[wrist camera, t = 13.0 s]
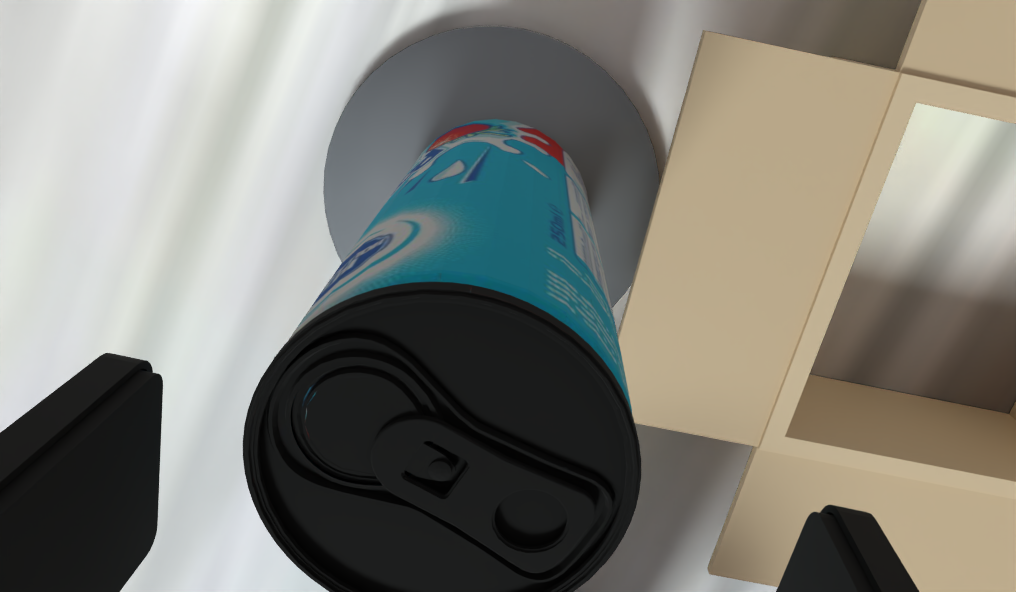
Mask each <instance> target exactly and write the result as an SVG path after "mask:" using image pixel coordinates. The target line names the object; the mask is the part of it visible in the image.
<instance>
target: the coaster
mask: <svg viewBox="0 0 1016 592" xmlns="http://www.w3.org/2000/svg"><path fill="white" fill-rule="evenodd" d="M490 119H499V120H507V121H515V122H518V123H521V124H524V125H527V126H530V127H532V128H535V129H537V130H539V131H540V132H542V133H543V134H545V135H547V136H548V137H550V138H551V139H553V140H554V141H555V142H556V143H557V144H558V145H559V146H560V147H561V148H562V149H563V150H564V151H565V152H566V153H567V154H568V155H569V156H570V157H571V159H572V161H573V162H574V164H575V166H576V167H577V169H578V170H579V172H580V174H581V177H582V180H583V182H584V185H585V188H586V191H587V197H588V203H589V207H590V212H591V216H592V221H593V225H594V230H595V234H596V239H597V243H598V248H599V252H600V257H601V261H602V266H603V270H604V275H605V279H606V284H607V288H608V293H609V298H610V303H611V307H613V306H614V305H615V304H616V303H617V301H618V300H619V299H620V298H621V297H622V296H623V295H624V294H625V293H626V291H627V290H628V288H629V287H630V285H631V284H632V282H633V278H634V275H635V271H636V268H637V264H638V260H639V257H640V253H641V250H642V246H643V243H644V239H645V235H646V232H647V228H648V225H649V221H650V218H651V214H652V211H653V207H654V203H655V200H656V196H657V193H658V189H659V173H658V168H657V163H656V158H655V153H654V149H653V146H652V143H651V141H650V138H649V135H648V132H647V129H646V127H645V125H644V123H643V121H642V119H641V118H640V116H639V114H638V112H637V110H636V108H635V107H634V105H633V104H632V103H631V101H630V100H629V98H628V97H627V95H626V94H625V92H624V91H623V90H622V89H621V87H620V86H619V85H618V84H617V83H616V82H615V81H614V80H613V79H612V78H611V77H610V75H609V74H608V73H607V72H606V71H605V70H603V69H602V68H601V67H600V66H599V65H597V64H596V63H595V62H594V61H592V60H591V59H590V58H589V57H587V56H586V55H584V54H582V53H581V52H579V51H578V50H576V49H574V48H573V47H571V46H570V45H568V44H565V43H563V42H561V41H559V40H556V39H554V38H552V37H550V36H547V35H544V34H540V33H537V32H533V31H530V30H526V29H520V28H513V27H506V26H474V27H466V28H459V29H454V30H450V31H447V32H443V33H440V34H436V35H433V36H431V37H428V38H426V39H424V40H422V41H419V42H417V43H415V44H413V45H410V46H409V47H407V48H405V49H404V50H402V51H401V52H399V53H397V54H396V55H394V56H393V57H391V58H389V59H388V60H387V61H386V62H385V63H384V64H382V65H381V66H380V67H379V68H378V69H376V70H375V71H374V72H373V73H372V74H371V75H370V76H369V77H368V78H367V79H366V80H365V82H364V83H363V84H362V85H361V86H360V87H359V88H358V89H357V91H356V92H355V94H354V95H353V97H352V98H351V100H350V101H349V103H348V104H347V106H346V107H345V109H344V111H343V113H342V115H341V117H340V119H339V121H338V123H337V125H336V127H335V130H334V133H333V136H332V139H331V142H330V145H329V148H328V153H327V159H326V164H325V170H324V191H323V192H324V203H325V213H326V218H327V222H328V227H329V231H330V235H331V237H332V240H333V243H334V246H335V248H336V251H337V254H338V256H339V258H340V259H341V261H342V263H343V261H344V260H345V258H346V257H347V256H348V254H349V253H350V251H351V250H352V249H353V247H354V246H355V244H356V243H357V242H358V240H359V239H360V237H361V236H362V235H363V233H364V232H365V230H366V229H367V228H368V226H369V225H370V224H371V222H372V221H373V219H374V218H375V217H376V215H377V214H378V213H379V211H380V210H381V209H382V207H383V206H384V205H385V203H386V202H387V200H388V199H389V198H390V196H391V195H392V194H393V192H394V191H395V190H396V188H397V187H398V186H399V184H400V183H401V181H402V180H403V179H404V177H405V176H406V175H407V173H408V172H409V171H410V169H411V168H412V166H413V165H414V164H415V162H416V161H417V159H418V158H419V156H420V155H421V153H422V152H423V151H424V150H425V149H426V148H427V147H428V146H429V145H430V144H431V143H432V142H433V141H434V140H435V139H437V138H438V137H439V136H441V135H443V134H444V133H446V132H448V131H450V130H451V129H453V128H455V127H457V126H461V125H464V124H467V123H470V122H473V121H480V120H490Z"/></svg>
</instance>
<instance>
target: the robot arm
mask: <svg viewBox="0 0 1016 592" xmlns="http://www.w3.org/2000/svg"><path fill="white" fill-rule="evenodd" d="M162 395H163V380H162V377H161V375H160V374H157V373H153V370H152V367H151V364H150V363H149V362H148V361H145V360H140V359H135V358H131V357H126V356H121V355H116V354H111V353H105V354H103V355H101V356H100V357H98V358H97V359H96V360H94V361H93V362H92V363H91V364H89V365H88V366H87V367H85V368H84V369H83V370H81V371H80V372H79V373H78V374H76V375H75V376H74V377H72V378H71V379H70V380H68V381H67V382H66V383H65V384H63V385H62V386H61V387H59V388H58V389H57V390H55V391H54V392H53V393H51V394H50V395H49V396H48V397H46V398H45V399H44V400H42V401H41V402H40V403H38V404H37V405H36V406H35V407H33V408H32V409H31V410H29V411H28V412H27V413H25V414H24V415H23V416H22V417H20V418H19V419H18V420H16V421H15V422H14V423H12V424H11V425H10V426H9V427H7V428H6V429H5V430H3V431H2V432H1V433H0V592H120V590H121V589H122V588H123V586H124V585H125V584H126V582H127V581H128V580H129V578H130V577H131V576H132V574H133V573H134V572H135V570H136V569H137V568H138V566H139V565H140V564H141V562H142V561H143V560H144V558H145V557H146V556H147V554H148V552H149V551H150V549H151V547H152V545H153V542H154V539H155V536H156V532H157V520H158V495H159V470H160V445H161V420H162ZM776 592H919V590H918V588H917V587H916V585H915V583H914V582H913V580H912V578H911V577H910V575H909V573H908V572H907V570H906V569H905V567H904V565H903V564H902V562H901V560H900V559H899V557H898V555H897V554H896V552H895V550H894V549H893V547H892V545H891V544H890V542H889V540H888V539H887V537H886V535H885V534H884V532H883V530H882V529H881V527H880V525H879V524H878V522H877V520H876V519H875V518H874V516H873V515H872V514H870V513H868V512H864V511H859V510H854V509H850V508H845V507H840V506H835V505H831V504H830V505H827V506H825V507H824V508H823V509H822V510H821V512H820V513H819V512H812V513H811V514H810V515H809V516H808V518H807V519H806V522H805V524H804V526H803V529H802V531H801V533H800V536H799V538H798V541H797V543H796V545H795V548H794V550H793V553H792V555H791V557H790V560H789V562H788V565H787V567H786V569H785V572H784V574H783V577H782V579H781V581H780V584H779V586H778V589H777V591H776Z"/></svg>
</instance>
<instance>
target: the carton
mask: <svg viewBox="0 0 1016 592" xmlns="http://www.w3.org/2000/svg"><path fill="white" fill-rule="evenodd" d="M916 103H921V104H925V105H930V106H935V107H939V108H944V109H949V110H953V111H958V112H963V113H967V114H972V115H977V116H981V117H986V118H991V119H995V120H1000V121H1005V122H1009V123H1014V124H1016V0H921V3H920V6H919V8H918V11H917V13H916V16H915V19H914V21H913V24H912V27H911V29H910V32H909V35H908V37H907V40H906V43H905V45H904V48H903V51H902V53H901V56H900V59H899V61H898V64H897V67H896V69H895V70H894V69H889V68H884V67H880V66H875V65H871V64H866V63H861V62H857V61H852V60H847V59H843V58H838V57H833V56H831V58H830V57H825V56H821V55H816V54H812V53H807V52H802V51H798V50H793V49H788V48H784V47H779V46H774V45H770V44H765V43H761V42H756V41H751V40H747V39H742V38H737V37H733V36H728V35H723V34H719V33H714V32H710V31H705V30H703V32H702V36H701V39H700V43H699V46H698V50H697V54H696V57H695V61H694V64H693V68H692V71H691V75H690V79H689V82H688V86H687V89H686V93H685V96H684V100H683V104H682V107H681V111H680V114H679V118H678V121H677V125H676V128H675V132H674V136H673V139H672V143H671V146H670V150H669V153H668V157H667V161H666V164H665V168H664V171H663V175H662V178H661V182H660V186H659V189H658V193H657V196H656V200H655V203H654V207H653V211H652V214H651V218H650V221H649V225H648V228H647V232H646V235H645V239H644V243H643V246H642V250H641V253H640V257H639V260H638V264H637V268H636V271H635V275H634V278H633V282H632V285H631V289H630V293H629V296H628V300H627V303H626V307H625V310H624V314H623V317H622V321H621V325H620V328H619V332H618V335H617V336H618V341H619V346H620V351H621V356H622V361H623V366H624V371H625V376H626V382H627V387H628V392H629V397H630V402H631V408H632V415H633V418H634V423H637V424H642V425H647V426H652V427H657V428H663V429H668V430H673V431H678V432H683V433H688V434H693V435H699V436H704V437H709V438H714V439H719V440H724V441H730V442H735V443H740V444H745V445H750V446H753V448H752V451H751V454H750V456H749V459H748V462H747V464H746V467H745V470H744V472H743V475H742V478H741V480H740V483H739V486H738V488H737V491H736V493H735V496H734V499H733V501H732V504H731V507H730V509H729V512H728V515H727V517H726V520H725V523H724V525H723V528H722V531H721V533H720V536H719V539H718V541H717V544H716V547H715V549H714V552H713V554H712V557H711V560H710V562H709V565H708V571H709V574H711V575H717V576H722V577H727V578H733V579H738V580H743V581H749V582H754V583H759V584H765V585H770V586H775V587H778V586H779V584H780V581H781V579H782V577H783V574H784V572H785V569H786V567H787V565H788V562H789V560H790V557H791V555H792V553H793V550H794V548H795V545H796V543H797V541H798V538H799V536H800V533H801V531H802V529H803V526H804V524H805V522H806V519H807V518H808V516H809V515H810V514H811V513H812V512H819V513H820V512H821V510H822V509H823V508H824V507H825V506H827V505H830V504H831V505H835V506H840V507H845V508H850V509H854V510H859V511H864V512H868V513H870V514H872V515H873V516H874V518H875V519H876V520H877V522H878V524H879V525H880V527H881V529H882V530H883V532H884V534H885V535H886V537H887V539H888V540H889V542H890V544H891V545H892V547H893V549H894V550H895V552H896V554H897V555H898V557H899V559H900V560H901V562H902V564H903V565H904V567H905V569H906V570H907V572H908V573H909V575H910V577H911V578H912V580H913V582H914V583H915V585H916V587H917V588H918V590H919V592H1016V402H1015V404H1014V406H1013V407H1012V409H1011V411H1010V413H1009V414H1007V413H1002V412H997V411H992V410H986V409H981V408H976V407H971V406H966V405H961V404H956V403H951V402H946V401H941V400H936V399H931V398H926V397H921V396H916V395H911V394H906V393H901V392H896V391H891V390H886V389H881V388H876V387H871V386H866V385H861V384H855V383H850V382H845V381H840V380H835V379H830V378H825V377H820V376H815V375H810V371H811V369H812V366H813V364H814V361H815V358H816V356H817V353H818V351H819V348H820V346H821V343H822V341H823V338H824V336H825V333H826V330H827V328H828V325H829V323H830V320H831V318H832V315H833V313H834V310H835V308H836V305H837V302H838V300H839V297H840V295H841V292H842V290H843V287H844V285H845V282H846V280H847V277H848V275H849V272H850V269H851V267H852V264H853V262H854V259H855V257H856V254H857V252H858V249H859V247H860V244H861V241H862V239H863V236H864V234H865V231H866V229H867V226H868V224H869V221H870V219H871V216H872V213H873V211H874V208H875V206H876V203H877V201H878V198H879V196H880V193H881V191H882V188H883V185H884V183H885V180H886V178H887V175H888V173H889V170H890V168H891V165H892V163H893V160H894V157H895V155H896V152H897V150H898V147H899V145H900V142H901V140H902V137H903V135H904V132H905V130H906V127H907V124H908V122H909V119H910V117H911V114H912V112H913V109H914V107H915V104H916Z"/></svg>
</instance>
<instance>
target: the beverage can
mask: <svg viewBox="0 0 1016 592" xmlns="http://www.w3.org/2000/svg"><path fill="white" fill-rule="evenodd" d="M243 460H244V469H245V475H246V479H247V484H248V488H249V491H250V494H251V497H252V500H253V503H254V505H255V507H256V510H257V512H258V514H259V516H260V518H261V520H262V522H263V523H264V525H265V527H266V529H267V530H268V532H269V533H270V535H271V536H272V538H273V539H274V541H275V542H276V543H277V545H278V546H279V547H280V548H281V549H282V551H283V552H284V553H285V554H286V556H287V557H288V558H289V559H290V560H291V561H292V562H293V563H294V564H295V565H296V566H297V567H298V568H299V569H301V570H302V571H303V572H304V573H305V574H306V575H308V576H309V577H310V578H311V579H312V580H314V581H315V582H317V583H318V584H319V585H321V586H322V587H324V588H325V589H326V590H328V591H329V592H574V591H575V590H576V589H578V588H579V587H580V586H581V585H583V584H584V583H585V582H587V581H588V580H589V579H590V578H591V577H592V576H593V575H594V574H595V573H596V572H597V571H598V570H599V569H600V568H601V567H602V566H603V565H604V564H605V563H606V562H607V560H608V559H609V558H610V556H611V555H612V554H613V552H614V551H615V550H616V548H617V547H618V545H619V543H620V542H621V540H622V539H623V537H624V535H625V533H626V531H627V529H628V527H629V524H630V522H631V520H632V517H633V514H634V511H635V508H636V504H637V500H638V495H639V490H640V481H641V456H640V447H639V441H638V436H637V432H636V427H635V423H634V418H633V415H632V408H631V402H630V397H629V392H628V387H627V382H626V376H625V371H624V366H623V361H622V356H621V351H620V346H619V341H618V336H617V331H616V327H615V322H614V317H613V312H612V307H611V303H610V298H609V293H608V288H607V284H606V279H605V275H604V270H603V266H602V261H601V257H600V252H599V248H598V243H597V239H596V234H595V230H594V225H593V221H592V216H591V212H590V207H589V203H588V197H587V191H586V188H585V185H584V182H583V180H582V177H581V174H580V172H579V170H578V169H577V167H576V166H575V164H574V162H573V161H572V159H571V157H570V156H569V155H568V154H567V153H566V152H565V151H564V150H563V149H562V148H561V147H560V146H559V145H558V144H557V143H556V142H555V141H554V140H553V139H551V138H550V137H548V136H547V135H545V134H543V133H542V132H540V131H539V130H537V129H535V128H532V127H530V126H527V125H524V124H521V123H518V122H515V121H507V120H499V119H490V120H480V121H473V122H470V123H467V124H464V125H461V126H457V127H455V128H453V129H451V130H450V131H448V132H446V133H444V134H443V135H441V136H439V137H438V138H437V139H435V140H434V141H433V142H432V143H431V144H430V145H429V146H428V147H427V148H426V149H425V150H424V151H423V152H422V153H421V155H420V156H419V158H418V159H417V161H416V162H415V164H414V165H413V166H412V168H411V169H410V171H409V172H408V173H407V175H406V176H405V177H404V179H403V180H402V181H401V183H400V184H399V186H398V187H397V188H396V190H395V191H394V192H393V194H392V195H391V196H390V198H389V199H388V200H387V202H386V203H385V205H384V206H383V207H382V209H381V210H380V211H379V213H378V214H377V215H376V217H375V218H374V219H373V221H372V222H371V224H370V225H369V226H368V228H367V229H366V230H365V232H364V233H363V235H362V236H361V237H360V239H359V240H358V242H357V243H356V244H355V246H354V247H353V249H352V250H351V251H350V253H349V254H348V256H347V257H346V258H345V260H344V261H343V263H342V264H341V265H340V267H339V268H338V270H337V271H336V272H335V274H334V275H333V277H332V278H331V279H330V281H329V282H328V284H327V285H326V286H325V288H324V289H323V291H322V292H321V294H320V295H319V297H318V298H317V299H316V301H315V302H314V304H313V305H312V307H311V308H310V310H309V311H308V313H307V314H306V315H305V317H304V318H303V320H302V321H301V323H300V324H299V326H298V327H297V328H296V330H295V331H294V333H293V334H292V336H291V338H290V339H289V341H288V342H287V343H286V344H285V345H284V346H283V348H282V349H281V350H280V351H279V353H278V354H277V355H276V357H275V358H274V360H273V361H272V363H271V364H270V366H269V367H268V369H267V370H266V372H265V373H264V375H263V376H262V378H261V380H260V382H259V384H258V386H257V388H256V390H255V392H254V394H253V397H252V400H251V403H250V406H249V409H248V413H247V417H246V421H245V427H244V436H243Z"/></svg>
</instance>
